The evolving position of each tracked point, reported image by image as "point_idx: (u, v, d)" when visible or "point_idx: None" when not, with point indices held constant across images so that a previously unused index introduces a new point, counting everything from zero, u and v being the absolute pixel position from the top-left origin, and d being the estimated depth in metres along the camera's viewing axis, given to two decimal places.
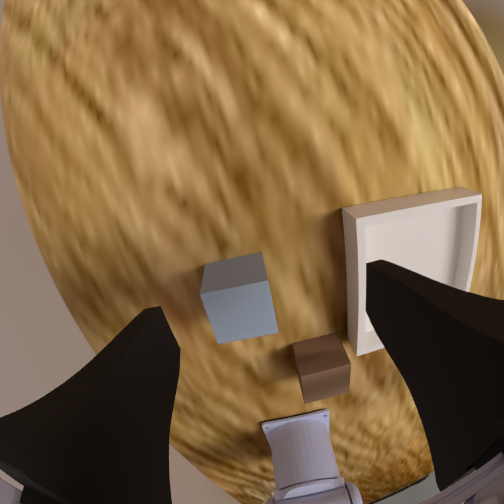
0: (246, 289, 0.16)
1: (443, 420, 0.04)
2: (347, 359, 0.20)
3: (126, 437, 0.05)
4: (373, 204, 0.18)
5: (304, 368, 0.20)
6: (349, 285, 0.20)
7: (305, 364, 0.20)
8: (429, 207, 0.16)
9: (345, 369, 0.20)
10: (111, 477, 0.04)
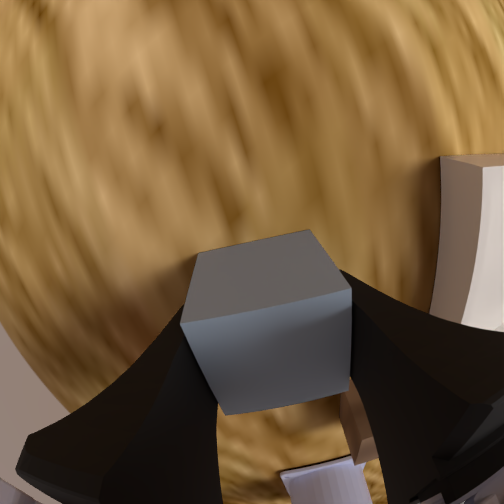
0: (298, 311, 0.06)
1: (389, 445, 0.05)
2: None
3: (186, 439, 0.05)
4: (480, 156, 0.08)
5: (366, 425, 0.10)
6: (442, 290, 0.10)
7: (366, 418, 0.11)
8: None
9: None
10: (178, 485, 0.04)
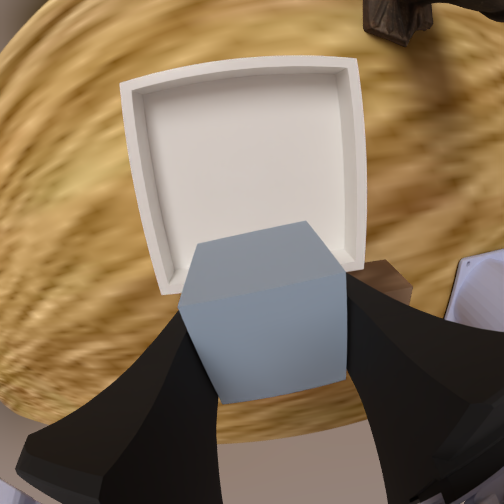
0: (294, 294, 0.06)
1: (389, 445, 0.05)
2: None
3: (186, 439, 0.05)
4: None
5: None
6: None
7: None
8: (140, 195, 0.13)
9: None
10: (178, 485, 0.04)
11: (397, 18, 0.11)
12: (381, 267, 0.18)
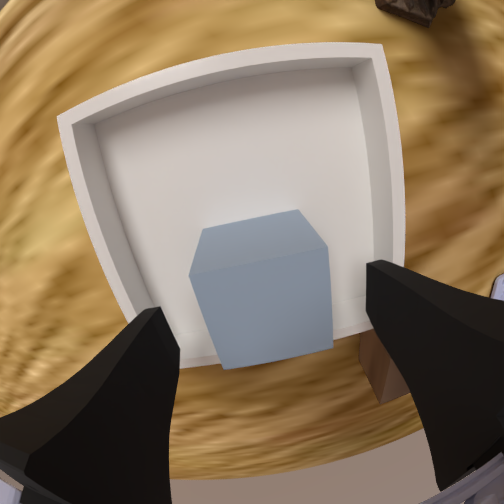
0: (284, 265, 0.08)
1: (443, 420, 0.04)
2: (386, 354, 0.11)
3: (126, 437, 0.05)
4: None
5: (376, 391, 0.13)
6: None
7: (374, 384, 0.13)
8: (106, 264, 0.10)
9: None
10: (111, 477, 0.04)
11: None
12: None
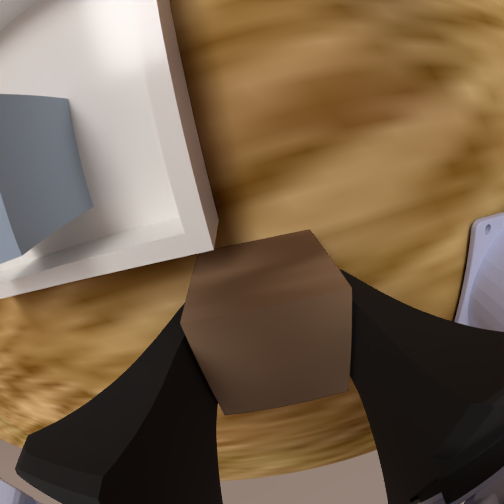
0: None
1: (390, 445, 0.05)
2: None
3: (186, 439, 0.05)
4: None
5: None
6: None
7: None
8: None
9: (209, 333, 0.06)
10: (177, 485, 0.04)
11: None
12: (291, 246, 0.09)
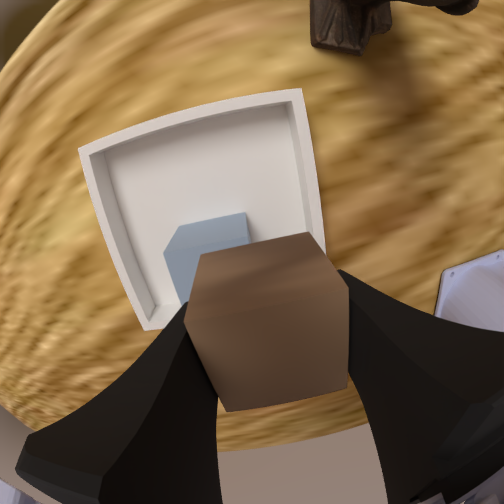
0: (220, 247, 0.13)
1: (389, 445, 0.05)
2: None
3: (186, 439, 0.05)
4: None
5: None
6: None
7: None
8: (112, 249, 0.14)
9: (211, 331, 0.07)
10: (177, 485, 0.04)
11: (347, 26, 0.11)
12: (291, 247, 0.09)
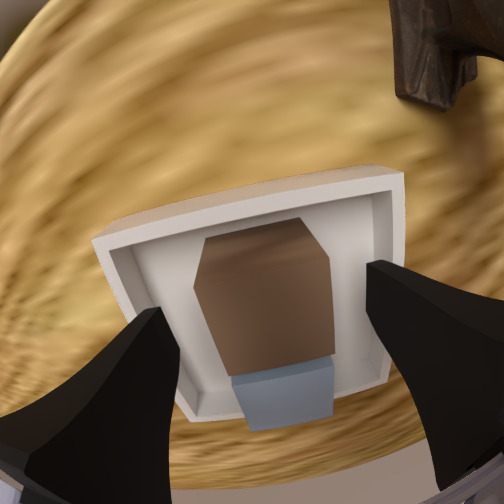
0: (302, 377, 0.10)
1: (443, 420, 0.04)
2: None
3: (126, 437, 0.05)
4: None
5: None
6: None
7: None
8: None
9: (216, 295, 0.08)
10: (111, 477, 0.04)
11: (439, 76, 0.08)
12: (283, 230, 0.10)
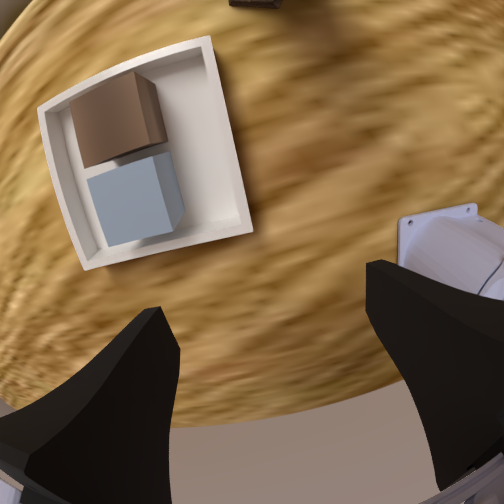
0: (130, 168, 0.12)
1: (443, 420, 0.04)
2: None
3: (126, 437, 0.05)
4: None
5: None
6: None
7: None
8: (57, 190, 0.14)
9: (78, 104, 0.11)
10: (111, 477, 0.04)
11: None
12: None
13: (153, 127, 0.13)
